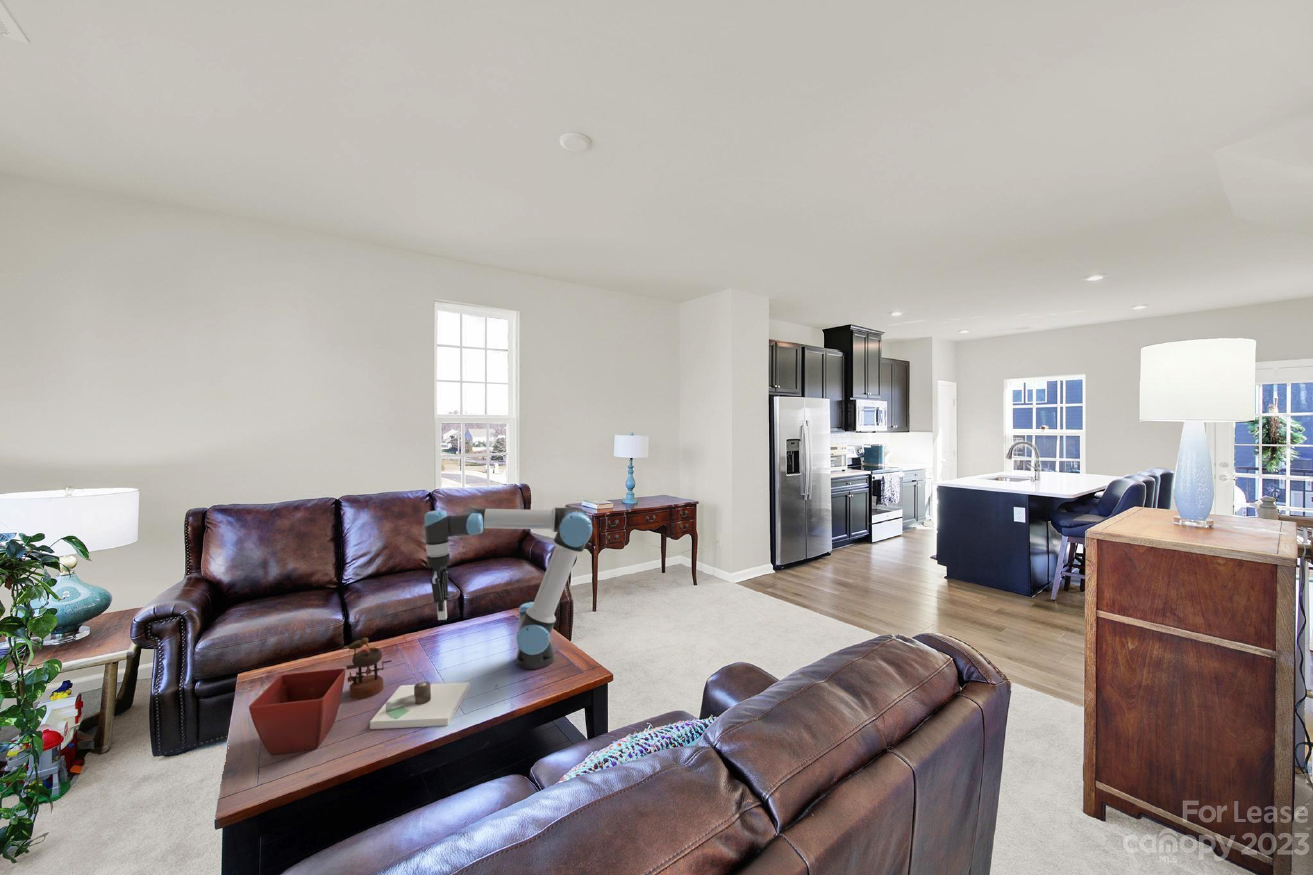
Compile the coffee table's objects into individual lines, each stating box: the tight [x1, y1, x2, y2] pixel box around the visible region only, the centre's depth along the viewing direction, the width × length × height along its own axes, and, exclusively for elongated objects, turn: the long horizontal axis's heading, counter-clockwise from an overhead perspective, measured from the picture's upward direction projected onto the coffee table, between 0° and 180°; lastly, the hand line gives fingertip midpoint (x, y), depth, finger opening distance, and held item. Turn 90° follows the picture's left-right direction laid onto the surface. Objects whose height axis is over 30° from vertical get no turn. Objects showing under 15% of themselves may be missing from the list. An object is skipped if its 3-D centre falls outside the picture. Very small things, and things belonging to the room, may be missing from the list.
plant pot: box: [248, 667, 347, 756], centre depth 158 cm, size 19×19×17 cm
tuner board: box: [369, 682, 470, 730], centre depth 175 cm, size 24×22×3 cm
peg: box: [385, 681, 431, 711], centre depth 172 cm, size 14×5×5 cm, turn 125°
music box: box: [342, 637, 392, 700], centre depth 186 cm, size 15×11×20 cm
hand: (442, 618), depth 187 cm, fingers closed
